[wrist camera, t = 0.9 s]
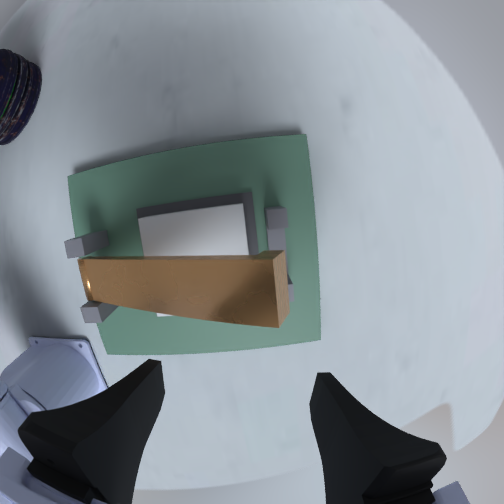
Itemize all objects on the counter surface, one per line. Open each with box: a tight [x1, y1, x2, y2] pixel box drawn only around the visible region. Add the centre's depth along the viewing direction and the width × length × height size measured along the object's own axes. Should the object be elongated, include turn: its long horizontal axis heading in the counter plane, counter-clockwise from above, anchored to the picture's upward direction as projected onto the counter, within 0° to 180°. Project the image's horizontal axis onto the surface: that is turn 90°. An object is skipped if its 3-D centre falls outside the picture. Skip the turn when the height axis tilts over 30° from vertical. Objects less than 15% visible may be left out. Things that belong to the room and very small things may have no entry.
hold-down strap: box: [78, 250, 290, 328], centre depth 15 cm, size 15×3×2 cm, turn 97°
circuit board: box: [64, 134, 321, 355], centre depth 19 cm, size 19×16×5 cm
